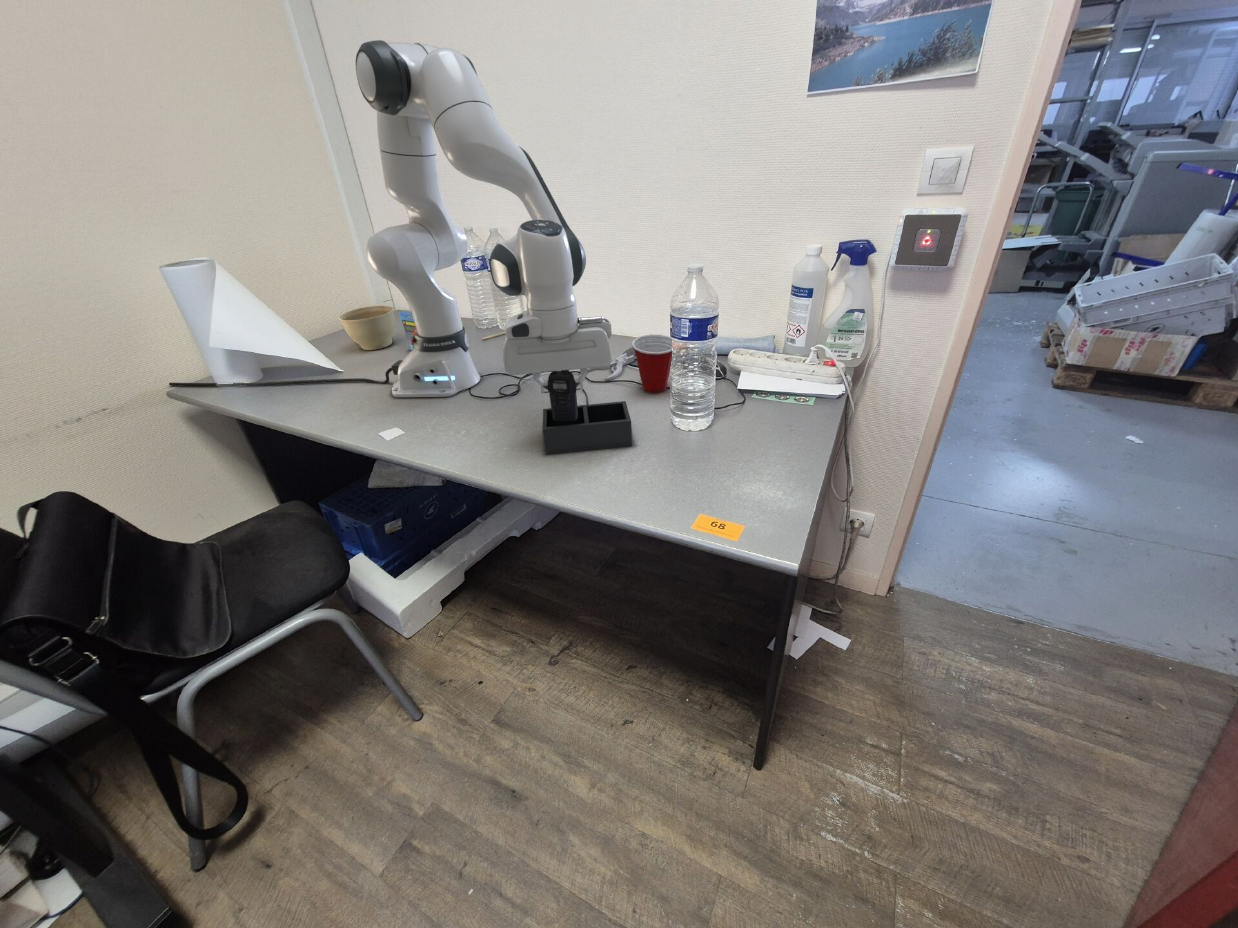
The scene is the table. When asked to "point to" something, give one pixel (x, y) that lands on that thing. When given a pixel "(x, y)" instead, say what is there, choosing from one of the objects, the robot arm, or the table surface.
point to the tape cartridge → (408, 326)
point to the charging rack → (588, 429)
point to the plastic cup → (653, 361)
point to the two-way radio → (563, 396)
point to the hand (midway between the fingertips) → (562, 390)
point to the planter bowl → (370, 326)
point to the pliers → (619, 362)
